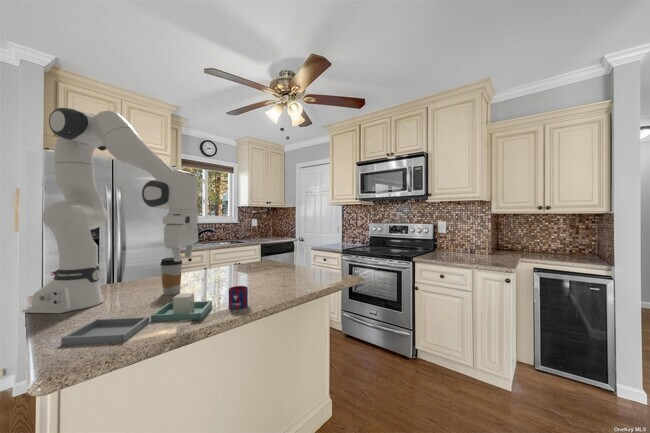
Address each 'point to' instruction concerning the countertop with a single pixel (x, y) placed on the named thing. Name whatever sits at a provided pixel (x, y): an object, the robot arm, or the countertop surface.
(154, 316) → the bin
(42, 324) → the countertop surface
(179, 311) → the stone block
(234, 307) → the cup
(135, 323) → the bin
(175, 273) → the coffee cup
